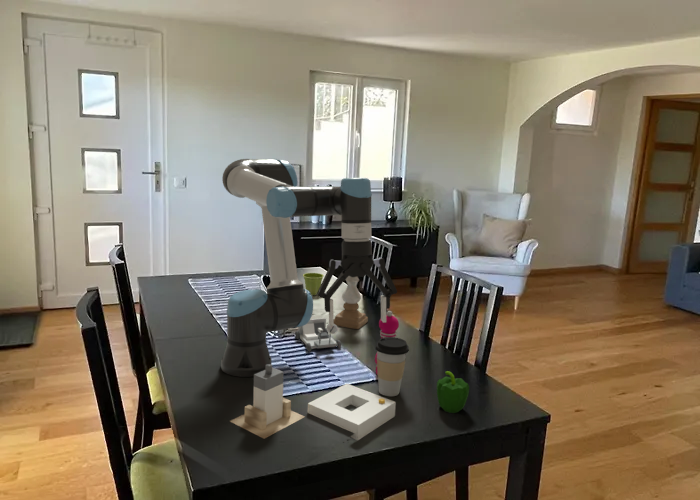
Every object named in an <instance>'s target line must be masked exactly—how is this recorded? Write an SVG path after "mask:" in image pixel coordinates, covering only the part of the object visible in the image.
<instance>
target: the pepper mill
mask: <svg viewBox="0 0 700 500" xmlns="http://www.w3.org/2000/svg"><path fill="white" fill-rule="evenodd" d="M399 327H400V323H399V319H398V318H397V317H396V316H394V315H393V311H391V310H388V311H386V322H384V323H383V322H382V321H381V318H380V319H379V321H378V328H379V329H380V330H379V333H380V334H379V336H380V339H381V338H385V337H395V338H397V333H398V332H397V330H398V329H399ZM374 363H375V365H376V366H375V374H376V375H377V376H378V373H377V352H376V354H375V356H374Z"/></svg>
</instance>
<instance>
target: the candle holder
mask: <svg viewBox="0 0 700 500" xmlns="http://www.w3.org/2000/svg"><path fill="white" fill-rule="evenodd" d="M339 266H340V267H341V265H339ZM345 281H346V283H347V286H346V289H345V290H343V293H342V296H341V300H342V301H343V302H344V303H343V305H342V307H343V310H341V311H340V312H339V313H337V314H336V315H335V317H334V324H335V325H336V326H337V327H341V328H346V329H347V328H348V329H352V330H360V329H361V328H362V327H363V326H364V325H366V324H367V323H368V321H369V317H368V316H366V313H364V312H361V311H359V307H360V305H359V304H358V303H360V301H361V299H362V295H361V293H360V291H359V289H358V288H357V285H358V282H359V281H360V279H359V276H357V277H350V276H348V277H347V279H345Z"/></svg>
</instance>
